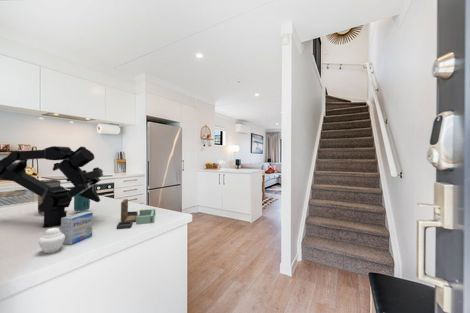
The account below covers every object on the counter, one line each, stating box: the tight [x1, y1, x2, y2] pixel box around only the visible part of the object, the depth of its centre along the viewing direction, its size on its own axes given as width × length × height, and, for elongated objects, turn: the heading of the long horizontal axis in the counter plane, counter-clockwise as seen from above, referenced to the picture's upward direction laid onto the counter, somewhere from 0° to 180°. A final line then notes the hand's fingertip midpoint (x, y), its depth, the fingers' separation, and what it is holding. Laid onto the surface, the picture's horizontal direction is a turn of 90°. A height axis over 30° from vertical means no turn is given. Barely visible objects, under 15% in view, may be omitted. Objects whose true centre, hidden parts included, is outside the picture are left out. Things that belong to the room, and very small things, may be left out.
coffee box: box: [37, 178, 61, 217], centre depth 100 cm, size 9×6×16 cm
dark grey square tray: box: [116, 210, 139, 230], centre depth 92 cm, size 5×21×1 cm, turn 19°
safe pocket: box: [136, 208, 156, 225], centre depth 94 cm, size 7×12×3 cm, turn 19°
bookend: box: [120, 198, 150, 224], centre depth 93 cm, size 11×7×9 cm, turn 109°
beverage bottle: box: [73, 192, 91, 212], centre depth 102 cm, size 6×7×20 cm
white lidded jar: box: [37, 227, 65, 254], centre depth 62 cm, size 6×6×7 cm
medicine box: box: [60, 211, 94, 246], centre depth 70 cm, size 8×4×9 cm, turn 168°
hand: (99, 201), depth 89 cm, fingers closed
